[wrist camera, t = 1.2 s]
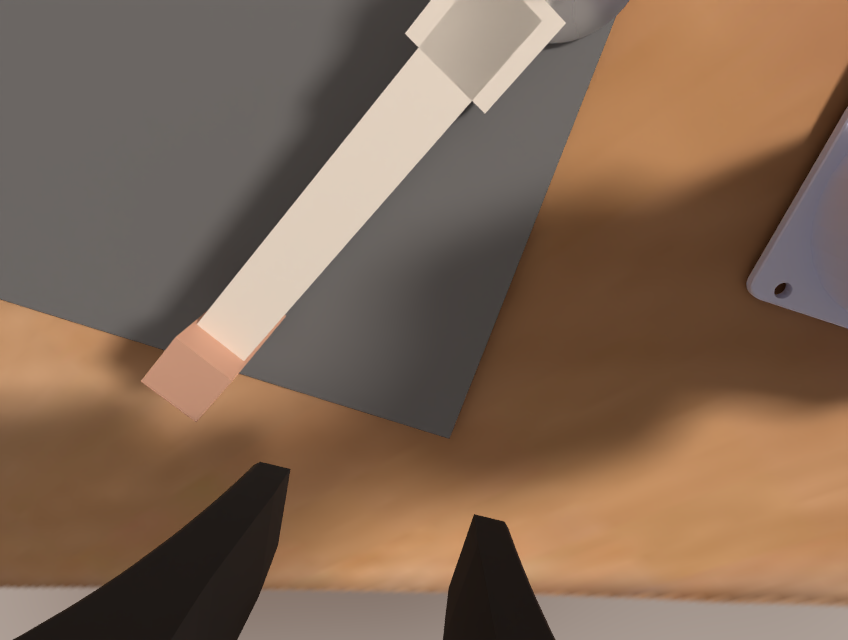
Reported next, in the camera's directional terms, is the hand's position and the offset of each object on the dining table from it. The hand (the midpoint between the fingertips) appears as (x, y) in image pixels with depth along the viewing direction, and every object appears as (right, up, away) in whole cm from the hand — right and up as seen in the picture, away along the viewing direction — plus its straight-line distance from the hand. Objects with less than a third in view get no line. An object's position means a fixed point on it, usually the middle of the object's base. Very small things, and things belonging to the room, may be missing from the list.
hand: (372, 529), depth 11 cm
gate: (-1, +8, +6) cm, 10 cm away
